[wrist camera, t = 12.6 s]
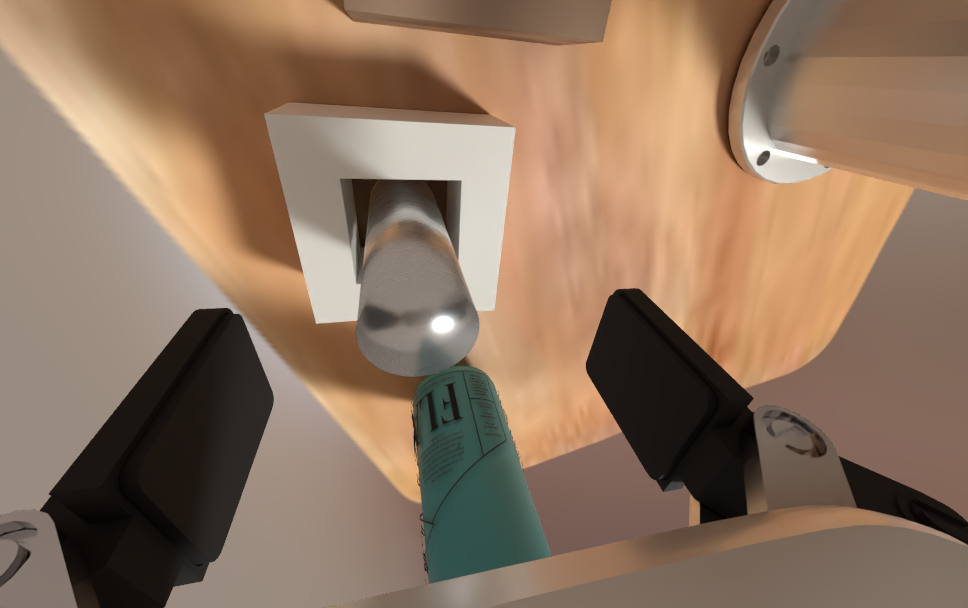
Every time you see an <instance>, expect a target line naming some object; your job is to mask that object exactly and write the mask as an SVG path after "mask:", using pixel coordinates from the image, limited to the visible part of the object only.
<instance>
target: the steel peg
mask: <svg viewBox="0 0 968 608" xmlns="http://www.w3.org/2000/svg"><path fill="white" fill-rule="evenodd" d="M478 332H479V318H478V314H477V311H476V308H475V306H474V303H473V300H472V298H471V295H470V292H469V289H468V287H467V284H466V281H465V279H464V276H463V273H462V270H461V268H460V265H459V262H458V260H457V257H456V254H455V251H454V249H453V246H452V243H451V241H450V238H449V235H448V232H447V230H446V227H445V224H444V222H443V219H442V216H441V213H440V211H439V208H438V205H437V203H436V200H435V197H434V194H433V192H432V190H431V188H430V186H429V185H428V184H427V182H426V181H425V180H403V179H379V180H378V181H377V182H376V183H375V185H374V186H373V188H372V191H371V194H370V202H369V212H368V221H367V231H366V241H365V250H364V260H363V269H362V279H361V288H360V298H359V307H358V317H357V327H356V339H357V343H358V346H359V348H360V351H361V352H362V354H363V355H364V357H365V358H366V359H367V360H368V361H369V362H370V363H372V364H373V365H374V366H376V367H377V368H379V369H381V370H383V371H385V372H388V373H391V374H395V375H399V376H407V377H417V376H426V375H431V374H435V373H438V372H441V371H443V370H446V369H448V368H450V367H451V366H453V365H455V364H456V363H458V362H459V361H460V360H462V359H463V358H464V357H465V356H466V355H467V354H468V353H469V351H470V350H471V349H472V347H473V346H474V344H475V342H476V339H477V336H478Z"/></svg>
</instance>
